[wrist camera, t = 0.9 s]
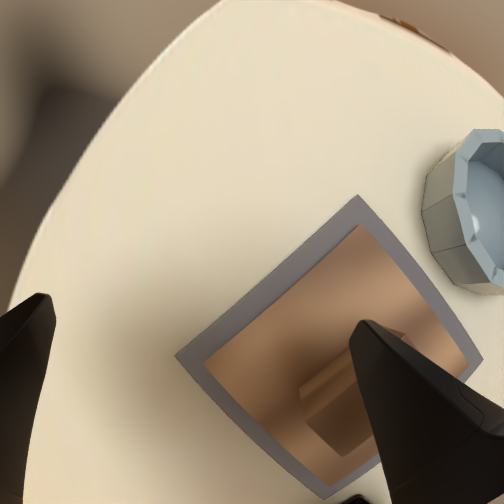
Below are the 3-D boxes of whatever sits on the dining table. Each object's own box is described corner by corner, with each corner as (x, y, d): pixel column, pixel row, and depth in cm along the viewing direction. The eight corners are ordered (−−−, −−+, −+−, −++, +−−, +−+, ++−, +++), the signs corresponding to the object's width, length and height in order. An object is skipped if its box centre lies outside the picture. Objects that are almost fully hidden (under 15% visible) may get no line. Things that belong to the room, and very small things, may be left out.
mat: (480, 358, 16) (483, 359, 16) (322, 497, 16) (323, 499, 16) (356, 195, 19) (357, 194, 19) (176, 354, 19) (174, 355, 18)
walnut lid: (463, 362, 16) (511, 380, 11) (328, 481, 16) (339, 530, 10) (358, 225, 18) (388, 200, 13) (205, 360, 18) (174, 387, 12)
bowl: (535, 229, 17) (567, 219, 13) (479, 322, 17) (516, 328, 12) (465, 130, 19) (491, 105, 14) (395, 209, 19) (422, 189, 14)
